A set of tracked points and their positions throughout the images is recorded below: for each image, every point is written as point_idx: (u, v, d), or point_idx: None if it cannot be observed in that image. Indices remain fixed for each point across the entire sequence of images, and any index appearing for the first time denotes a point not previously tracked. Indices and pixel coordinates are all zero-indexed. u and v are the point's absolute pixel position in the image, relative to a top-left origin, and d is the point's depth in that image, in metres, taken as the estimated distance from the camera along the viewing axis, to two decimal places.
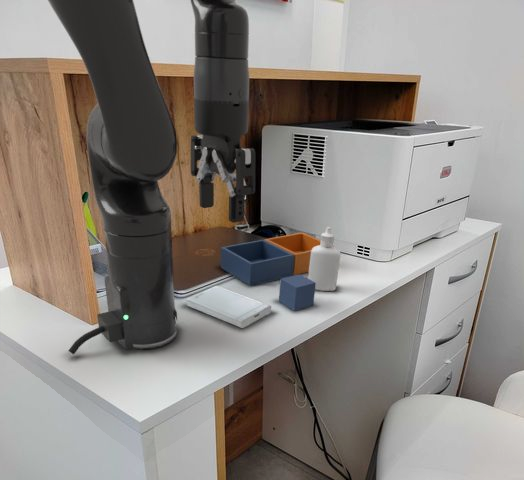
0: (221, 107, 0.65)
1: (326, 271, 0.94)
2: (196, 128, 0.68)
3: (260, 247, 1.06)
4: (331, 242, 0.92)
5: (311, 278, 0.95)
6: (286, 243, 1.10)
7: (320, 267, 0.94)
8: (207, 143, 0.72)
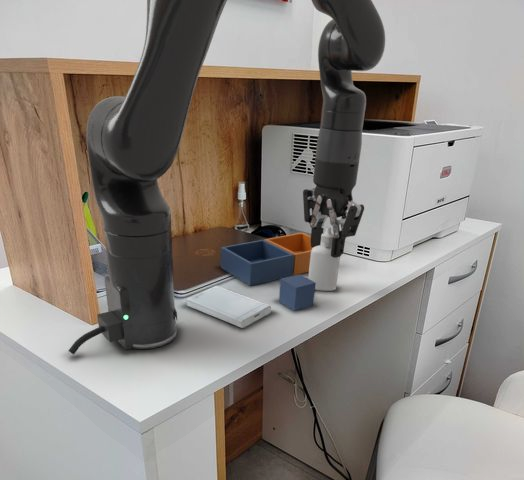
0: (341, 167, 0.82)
1: (326, 271, 0.94)
2: (316, 182, 0.85)
3: (260, 247, 1.06)
4: (331, 242, 0.92)
5: (311, 278, 0.95)
6: (286, 243, 1.10)
7: (320, 267, 0.93)
8: (320, 192, 0.89)
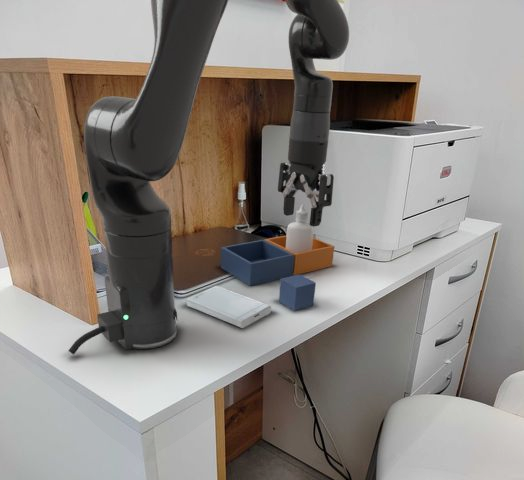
0: (311, 145, 0.93)
1: (300, 245, 1.05)
2: (290, 159, 0.96)
3: (260, 247, 1.06)
4: (305, 218, 1.02)
5: None
6: None
7: (296, 241, 1.04)
8: (295, 169, 0.99)
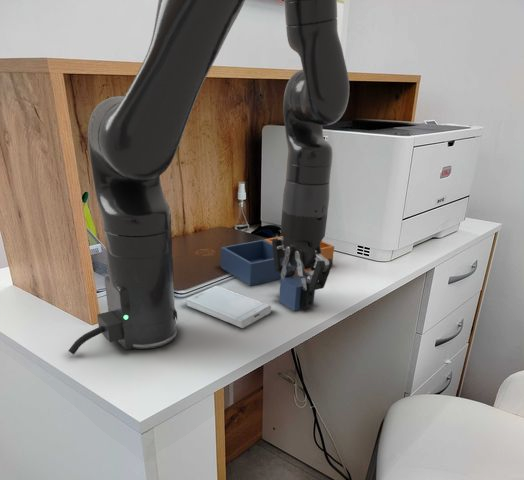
0: (307, 221, 0.79)
1: None
2: (283, 234, 0.82)
3: (260, 247, 1.06)
4: None
5: None
6: None
7: None
8: (289, 242, 0.85)
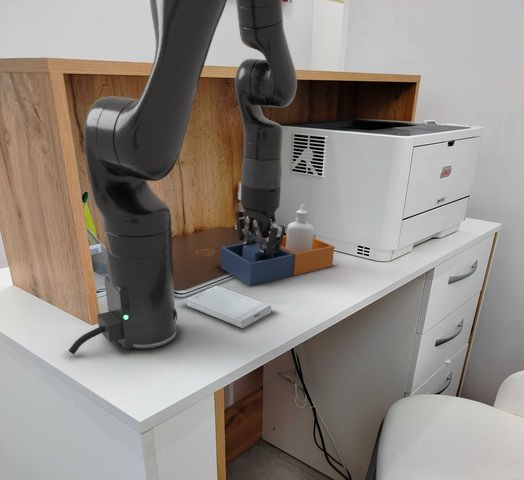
0: (262, 192, 0.91)
1: (300, 245, 1.05)
2: (242, 205, 0.94)
3: None
4: (305, 218, 1.02)
5: None
6: None
7: (296, 241, 1.04)
8: (249, 213, 0.97)
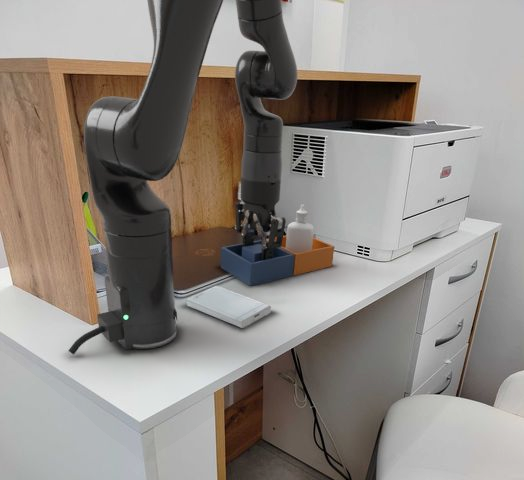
0: (262, 185, 0.90)
1: (300, 245, 1.05)
2: (242, 198, 0.93)
3: None
4: (305, 218, 1.02)
5: None
6: None
7: (296, 241, 1.04)
8: (249, 207, 0.97)
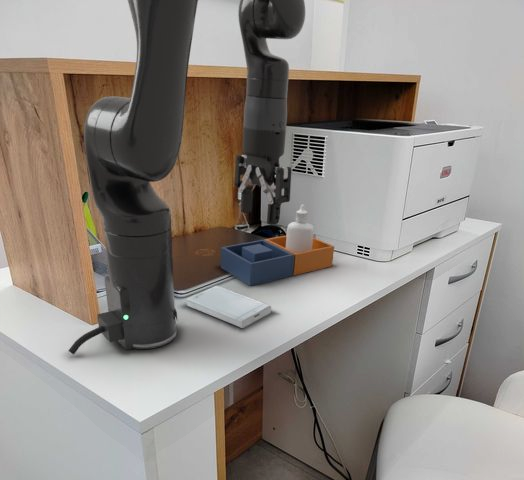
0: (266, 135, 0.84)
1: (300, 245, 1.05)
2: (244, 150, 0.87)
3: None
4: (305, 218, 1.02)
5: None
6: None
7: (296, 241, 1.04)
8: (251, 161, 0.90)
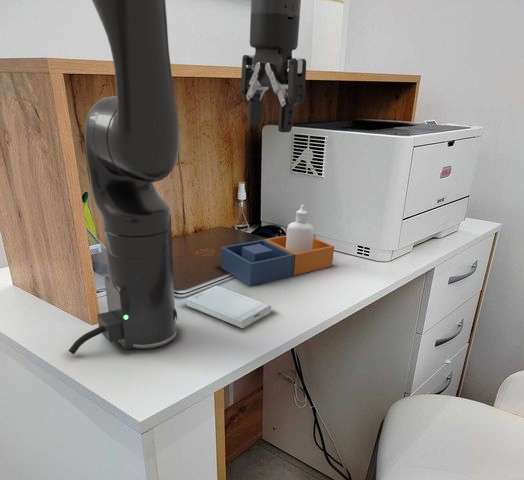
0: (277, 19, 0.73)
1: (300, 245, 1.05)
2: (252, 42, 0.76)
3: None
4: (305, 218, 1.02)
5: None
6: None
7: (296, 241, 1.04)
8: (259, 59, 0.79)
